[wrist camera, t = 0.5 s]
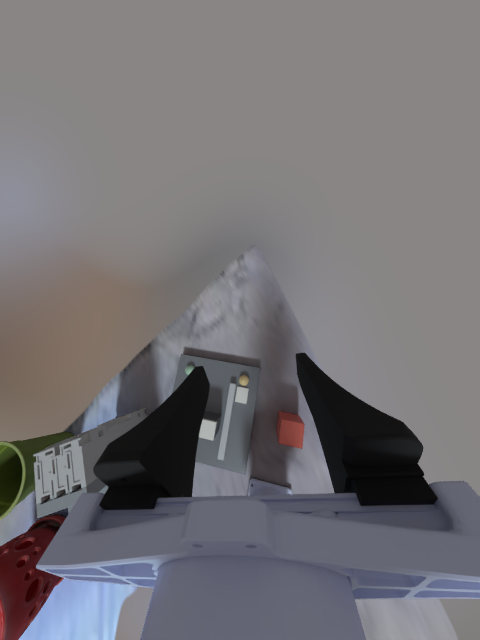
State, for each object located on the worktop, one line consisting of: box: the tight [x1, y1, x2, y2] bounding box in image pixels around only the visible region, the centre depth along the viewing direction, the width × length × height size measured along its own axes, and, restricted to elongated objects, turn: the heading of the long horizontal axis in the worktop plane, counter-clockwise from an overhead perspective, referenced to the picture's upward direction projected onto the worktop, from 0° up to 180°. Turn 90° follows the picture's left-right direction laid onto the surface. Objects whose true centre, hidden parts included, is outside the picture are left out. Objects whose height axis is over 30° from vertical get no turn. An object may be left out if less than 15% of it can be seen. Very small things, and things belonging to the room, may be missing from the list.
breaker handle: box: [199, 411, 221, 441], centre depth 34 cm, size 3×5×4 cm, turn 81°
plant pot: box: [0, 432, 74, 520], centre depth 35 cm, size 12×12×11 cm
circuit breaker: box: [33, 407, 148, 518], centre depth 31 cm, size 8×14×15 cm, turn 20°
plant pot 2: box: [0, 515, 66, 640], centre depth 30 cm, size 13×13×12 cm
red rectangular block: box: [276, 411, 304, 449], centre depth 34 cm, size 4×4×5 cm
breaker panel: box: [173, 354, 260, 475], centre depth 37 cm, size 20×18×3 cm
